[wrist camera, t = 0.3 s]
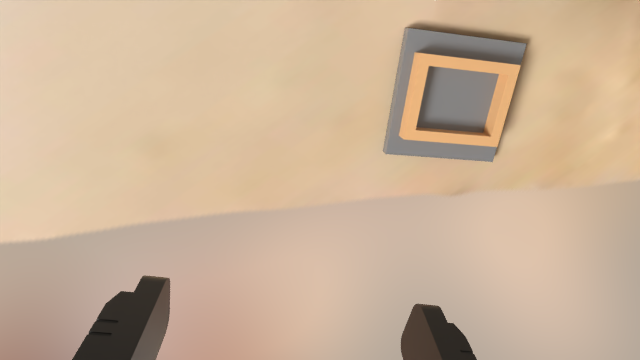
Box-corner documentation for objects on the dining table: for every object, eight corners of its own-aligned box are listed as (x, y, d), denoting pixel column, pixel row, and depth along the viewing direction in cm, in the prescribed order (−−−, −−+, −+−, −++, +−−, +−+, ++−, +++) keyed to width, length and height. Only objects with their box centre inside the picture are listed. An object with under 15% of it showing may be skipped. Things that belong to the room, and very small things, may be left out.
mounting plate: (404, 28, 35) (414, 27, 33) (520, 43, 37) (537, 44, 35) (383, 151, 39) (390, 158, 37) (487, 158, 41) (500, 166, 39)
